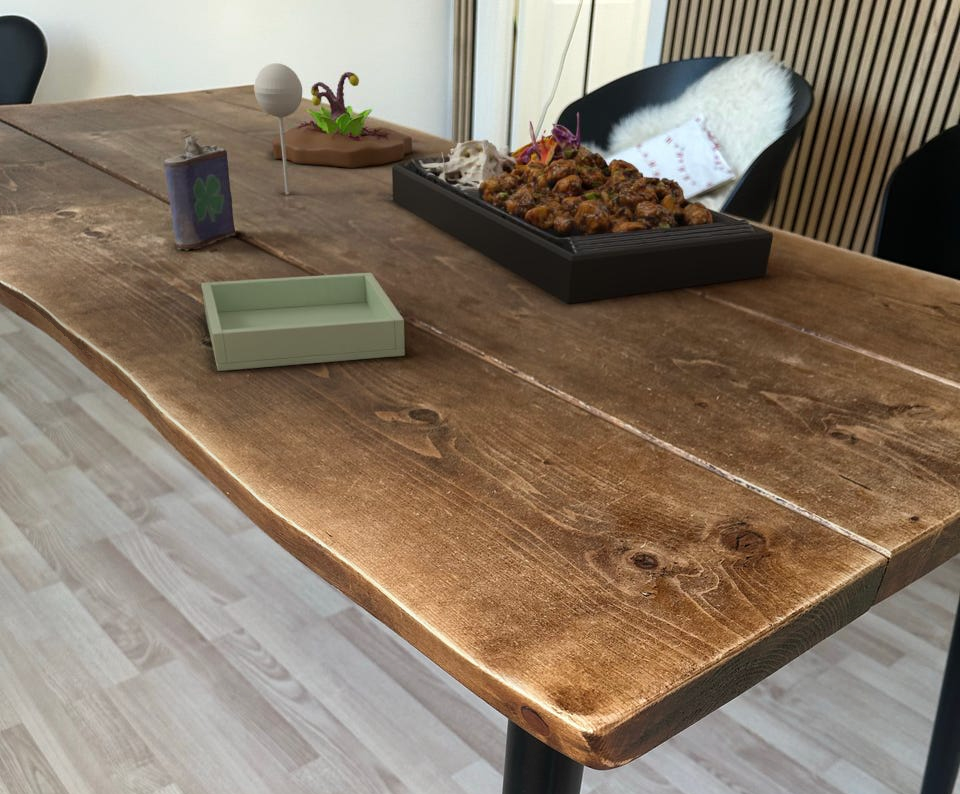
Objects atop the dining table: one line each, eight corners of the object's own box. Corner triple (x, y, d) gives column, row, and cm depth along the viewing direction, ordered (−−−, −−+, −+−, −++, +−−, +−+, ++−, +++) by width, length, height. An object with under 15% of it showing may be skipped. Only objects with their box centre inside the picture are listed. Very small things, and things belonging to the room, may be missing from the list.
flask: (189, 252, 105) (173, 143, 99) (168, 248, 106) (150, 140, 100) (241, 233, 112) (229, 130, 105) (221, 230, 113) (207, 127, 106)
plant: (364, 173, 139) (360, 84, 133) (253, 158, 146) (244, 73, 139) (429, 150, 154) (428, 69, 147) (325, 137, 160) (320, 59, 154)
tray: (217, 371, 78) (212, 333, 76) (206, 317, 89) (201, 282, 87) (404, 355, 82) (404, 319, 80) (372, 305, 92) (371, 272, 91)
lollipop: (279, 187, 131) (267, 59, 122) (318, 191, 129) (309, 62, 120) (256, 196, 126) (242, 64, 117) (296, 201, 125) (285, 67, 116)
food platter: (393, 201, 126) (390, 112, 120) (555, 187, 135) (560, 104, 129) (568, 303, 94) (577, 189, 88) (765, 276, 103) (786, 171, 97)
